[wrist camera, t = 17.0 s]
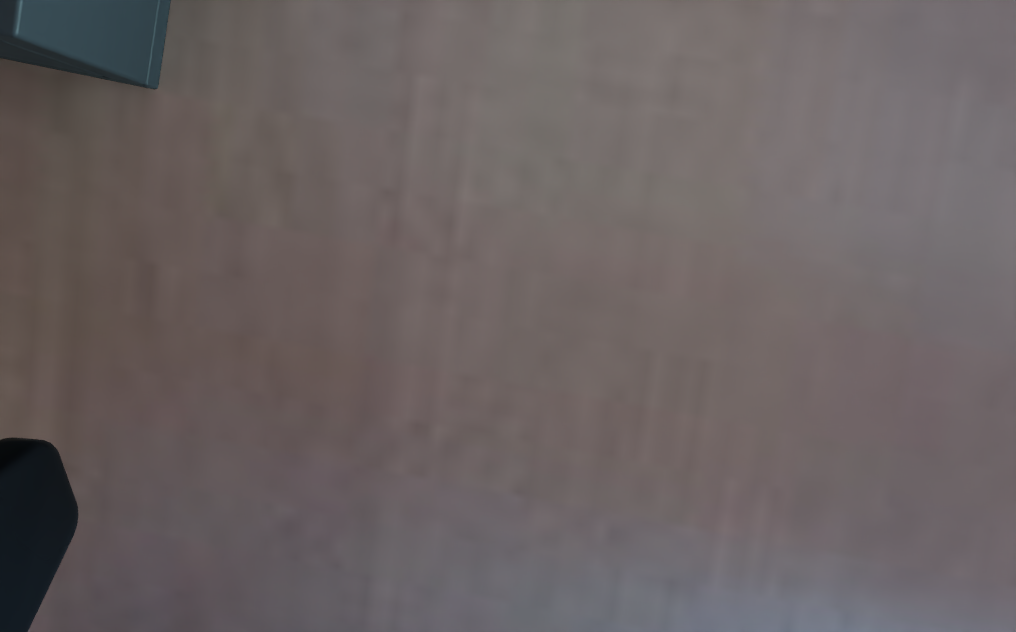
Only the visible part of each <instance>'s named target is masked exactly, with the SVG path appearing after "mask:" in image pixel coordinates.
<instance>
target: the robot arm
mask: <svg viewBox="0 0 1016 632" xmlns="http://www.w3.org/2000/svg"><path fill="white" fill-rule="evenodd" d="M77 522H78V506H77V502H76V500H75V497H74V494H73V491H72V488H71V485H70V483H69V480H68V477H67V474H66V471H65V469H64V466H63V463H62V460H61V457H60V454H59V452H58V450H57V449H56V448H55V447H54V446H53V445H52V444H51V443H50V442H47V441H45V440H38V439H26V438H5V439H2V440H0V632H28V630H29V628H30V626H31V623H32V621H33V619H34V617H35V615H36V613H37V611H38V609H39V607H40V605H41V603H42V600H43V598H44V596H45V594H46V592H47V590H48V588H49V586H50V584H51V582H52V580H53V577H54V575H55V573H56V571H57V569H58V567H59V565H60V563H61V561H62V559H63V557H64V554H65V552H66V550H67V548H68V546H69V544H70V542H71V540H72V538H73V536H74V533H75V530H76V527H77Z"/></svg>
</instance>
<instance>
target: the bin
mask: <svg viewBox="0 0 1016 632" xmlns="http://www.w3.org/2000/svg"><path fill="white" fill-rule="evenodd" d="M170 1H171V0H0V58H3V59H8V60H13V61H18V62H23V63H28V64H33V65H38V66H43V67H47V68H52V69H57V70H62V71H67V72H72V73H77V74H82V75H87V76H91V77H96V78H101V79H106V80H111V81H116V82H121V83H126V84H131V85H136V86H140V87H145V88H150V89H157V88H158V84H159V77H160V70H161V63H162V56H163V49H164V43H165V36H166V29H167V22H168V15H169V8H170Z"/></svg>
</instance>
